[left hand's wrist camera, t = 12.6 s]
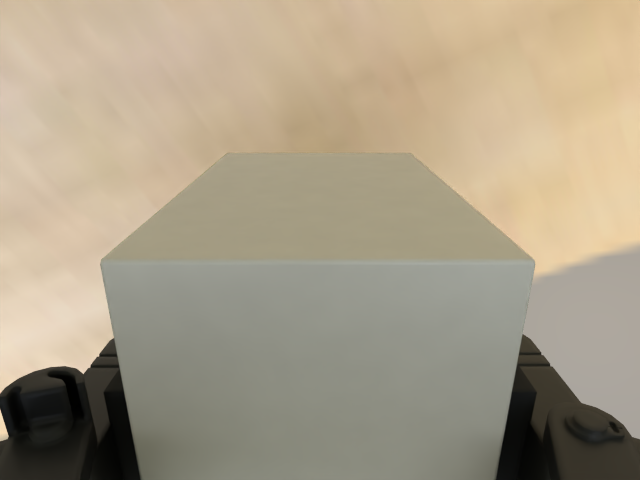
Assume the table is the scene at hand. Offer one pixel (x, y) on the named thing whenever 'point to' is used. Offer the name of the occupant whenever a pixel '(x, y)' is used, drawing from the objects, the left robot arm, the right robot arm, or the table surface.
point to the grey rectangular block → (318, 324)
